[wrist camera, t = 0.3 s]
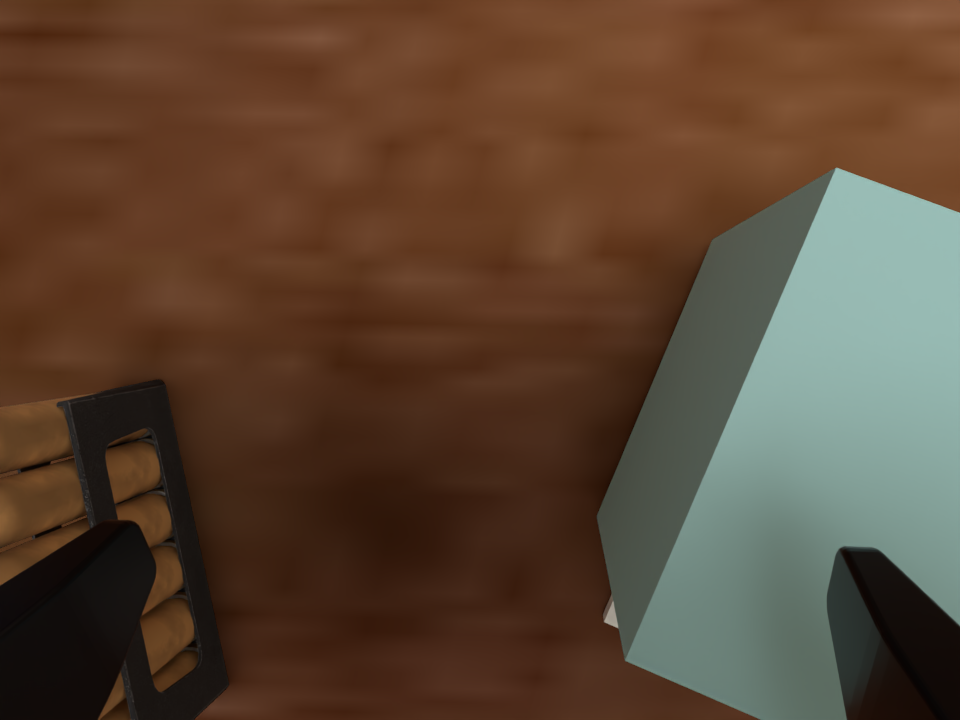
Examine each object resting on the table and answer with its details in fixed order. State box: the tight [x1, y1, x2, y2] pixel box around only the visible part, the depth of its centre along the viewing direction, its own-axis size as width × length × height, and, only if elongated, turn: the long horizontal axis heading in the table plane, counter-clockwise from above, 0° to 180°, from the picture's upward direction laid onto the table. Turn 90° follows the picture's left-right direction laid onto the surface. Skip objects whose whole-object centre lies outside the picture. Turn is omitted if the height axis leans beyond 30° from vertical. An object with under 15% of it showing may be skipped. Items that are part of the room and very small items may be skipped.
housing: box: [597, 168, 960, 720], centre depth 17 cm, size 9×10×10 cm
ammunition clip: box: [0, 379, 229, 720], centre depth 19 cm, size 11×2×12 cm, turn 12°
